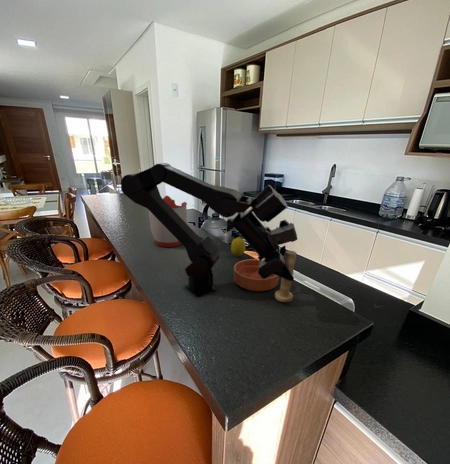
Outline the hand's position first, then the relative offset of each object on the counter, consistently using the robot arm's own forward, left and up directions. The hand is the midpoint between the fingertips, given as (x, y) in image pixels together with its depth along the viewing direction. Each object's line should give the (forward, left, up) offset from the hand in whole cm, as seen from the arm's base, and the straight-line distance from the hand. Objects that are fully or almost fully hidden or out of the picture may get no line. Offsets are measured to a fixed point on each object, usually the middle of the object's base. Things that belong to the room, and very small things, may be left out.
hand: (292, 277), depth 65 cm
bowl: (+1, +14, -8) cm, 16 cm away
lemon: (+9, +32, -8) cm, 34 cm away
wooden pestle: (-1, +1, -7) cm, 7 cm away
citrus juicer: (-5, +60, -8) cm, 61 cm away
